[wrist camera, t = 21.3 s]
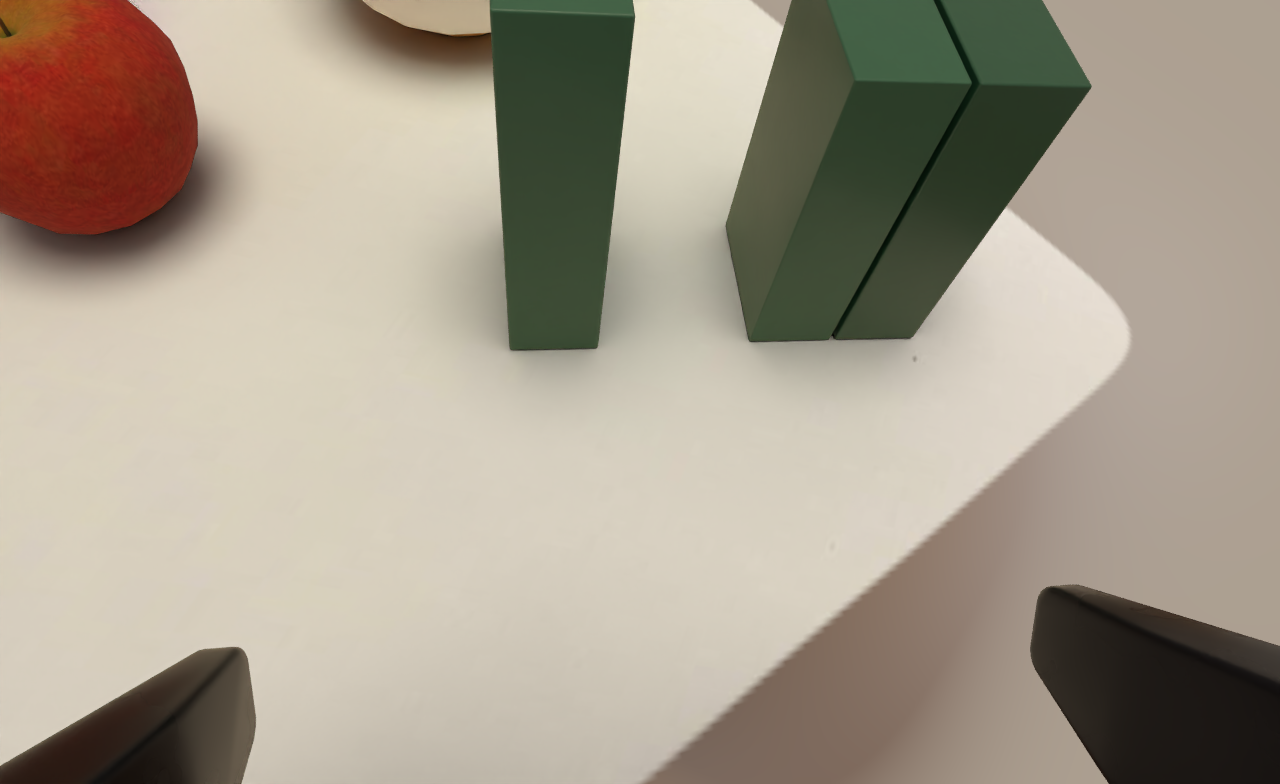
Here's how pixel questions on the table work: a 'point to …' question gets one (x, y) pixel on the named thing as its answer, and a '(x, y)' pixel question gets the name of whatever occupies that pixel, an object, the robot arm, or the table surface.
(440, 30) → the cup
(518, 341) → the green book
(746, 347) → the table surface
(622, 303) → the table surface
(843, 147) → the green books
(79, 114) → the apple
